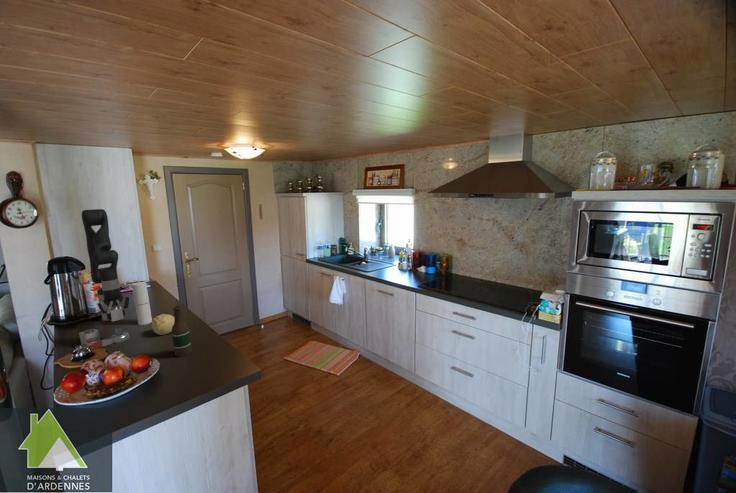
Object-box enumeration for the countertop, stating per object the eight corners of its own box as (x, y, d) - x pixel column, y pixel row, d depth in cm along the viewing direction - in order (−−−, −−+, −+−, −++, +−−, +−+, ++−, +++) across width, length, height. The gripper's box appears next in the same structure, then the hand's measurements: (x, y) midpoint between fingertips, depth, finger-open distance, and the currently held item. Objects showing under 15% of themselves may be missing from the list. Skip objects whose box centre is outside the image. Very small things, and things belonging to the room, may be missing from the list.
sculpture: (150, 333, 188) (147, 315, 186) (173, 326, 197) (171, 309, 195) (156, 339, 180) (153, 320, 178) (180, 331, 189) (178, 313, 187)
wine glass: (75, 350, 169) (72, 337, 168) (126, 335, 186) (124, 323, 185) (79, 355, 164) (76, 341, 163) (131, 339, 181) (129, 326, 180)
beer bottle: (180, 358, 158) (173, 310, 154) (171, 354, 162) (164, 308, 158) (195, 351, 164) (189, 305, 160) (186, 348, 169) (180, 303, 164)
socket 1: (81, 345, 176) (78, 331, 175) (94, 340, 181) (92, 327, 180) (87, 347, 173) (85, 333, 172) (100, 342, 179) (98, 329, 177)
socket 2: (109, 319, 178) (107, 307, 177) (120, 316, 182) (118, 305, 181) (112, 321, 175) (110, 309, 174) (123, 318, 179) (121, 306, 178)
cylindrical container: (145, 325, 200) (138, 285, 196) (135, 324, 201) (128, 285, 197) (155, 320, 207) (149, 281, 202) (145, 320, 208) (139, 281, 204)
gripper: (125, 283, 183) (130, 312, 186) (92, 290, 172) (98, 321, 175) (129, 285, 178) (134, 315, 181) (95, 292, 168) (101, 324, 170)
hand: (116, 318), depth 178 cm, fingers closed on socket 2, 5 cm apart
